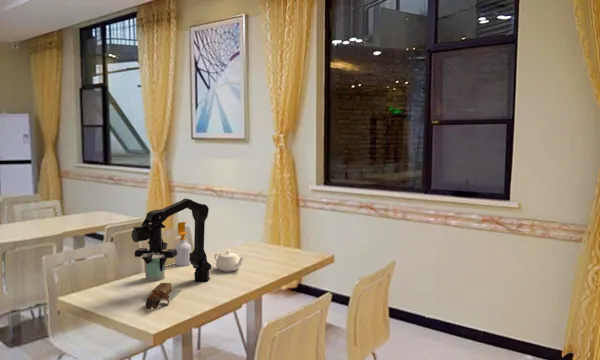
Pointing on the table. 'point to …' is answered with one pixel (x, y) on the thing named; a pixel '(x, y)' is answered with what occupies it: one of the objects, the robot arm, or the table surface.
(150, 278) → the speckled grey cylinder
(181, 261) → the soap bottle
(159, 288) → the brown wooden block
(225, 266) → the teapot
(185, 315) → the table surface
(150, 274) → the lintel
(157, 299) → the brown curved piece
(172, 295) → the build mat
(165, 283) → the post
